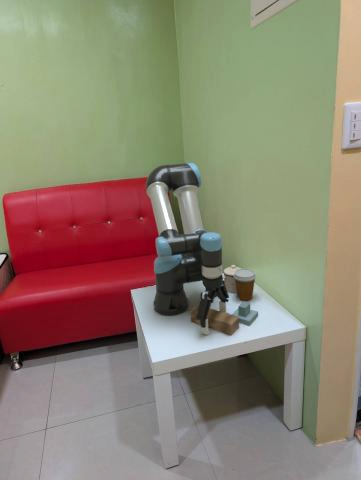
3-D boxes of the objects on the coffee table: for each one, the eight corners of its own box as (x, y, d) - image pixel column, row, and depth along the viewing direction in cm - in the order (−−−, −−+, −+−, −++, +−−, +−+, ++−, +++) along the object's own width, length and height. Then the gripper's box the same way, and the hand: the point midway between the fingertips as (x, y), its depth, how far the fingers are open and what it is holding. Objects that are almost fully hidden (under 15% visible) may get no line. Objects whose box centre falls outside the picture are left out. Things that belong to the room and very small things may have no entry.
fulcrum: (230, 320, 138) (230, 306, 136) (239, 310, 144) (239, 297, 142) (249, 325, 133) (249, 311, 131) (258, 315, 140) (258, 302, 138)
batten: (190, 322, 139) (190, 311, 137) (199, 315, 143) (198, 304, 142) (231, 336, 128) (231, 324, 127) (238, 328, 133) (238, 316, 131)
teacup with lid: (237, 282, 168) (236, 260, 164) (247, 290, 160) (247, 267, 156) (214, 288, 164) (214, 265, 160) (224, 296, 156) (223, 272, 152)
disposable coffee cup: (256, 303, 149) (256, 277, 145) (233, 302, 151) (232, 277, 147) (256, 292, 157) (256, 268, 154) (234, 292, 159) (234, 268, 156)
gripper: (202, 290, 117) (205, 344, 124) (237, 264, 136) (237, 312, 143) (184, 286, 121) (188, 338, 128) (220, 261, 140) (221, 307, 147)
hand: (214, 324), depth 135 cm, fingers open, 13 cm apart
